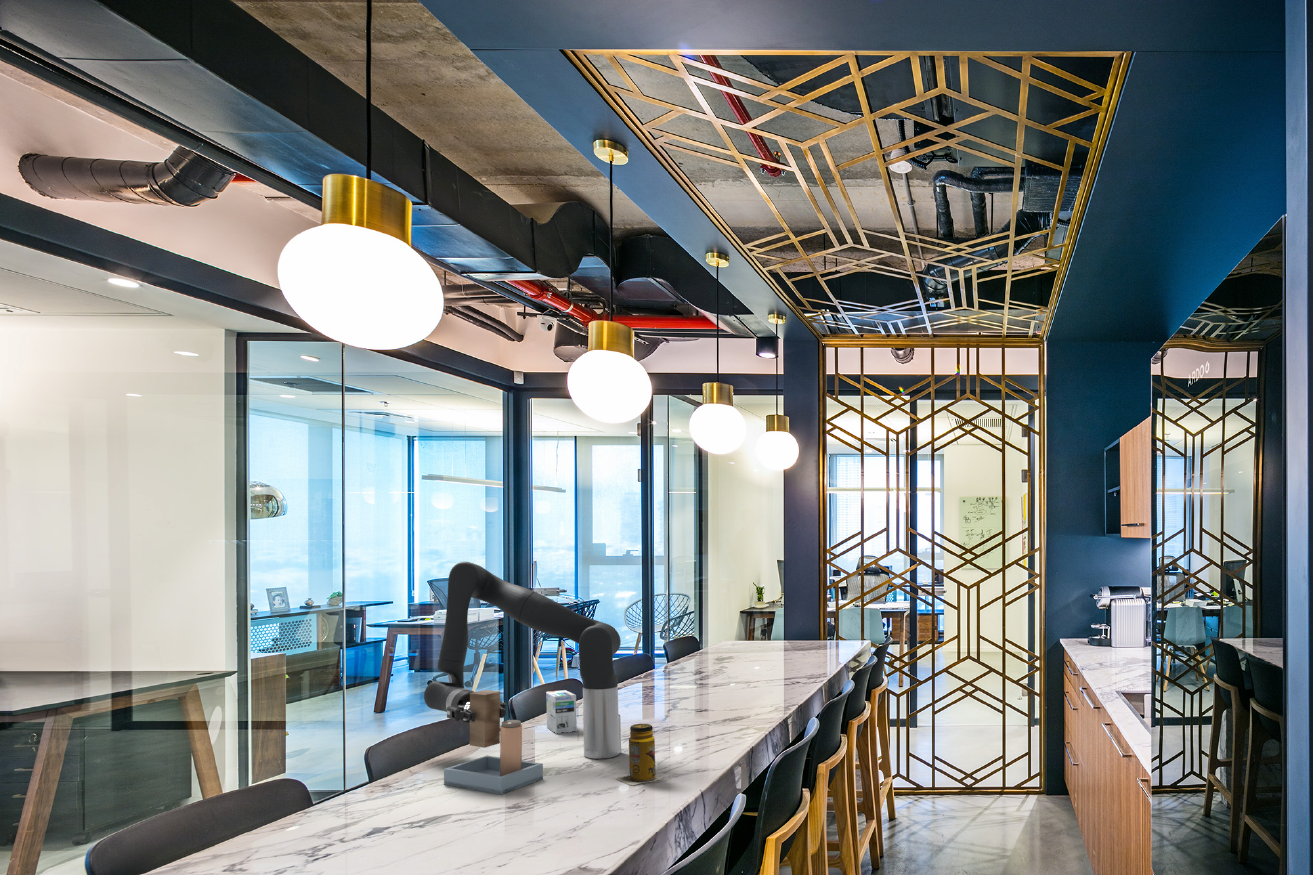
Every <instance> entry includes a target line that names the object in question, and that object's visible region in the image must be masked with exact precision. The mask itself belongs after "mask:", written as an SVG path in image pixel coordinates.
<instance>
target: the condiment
mask: <svg viewBox="0 0 1313 875" xmlns="http://www.w3.org/2000/svg"><path fill="white" fill-rule="evenodd" d="M629 730H630V731H629V737H628V756H629V757H628V760H629V761H628V763H629V764H628V766H629V768H628V769H629V775H625V776H619V777H615V779H616V780H618V781H620V782H622V783H624V784H627V785H629V786H635V785H636V786H637V785H641V784H645V783H646V784H647V783H652V782H657V781H661V780H663V778H662V777H659V776H656V753H655V751H656V750H655V745H656V744H655V737H654V736H653V734H654V732H653V725H652V724H649V723H636V724H634V723H633V724H632V725H630V728H629Z"/></svg>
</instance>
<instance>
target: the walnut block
mask: <svg viewBox="0 0 1313 875" xmlns="http://www.w3.org/2000/svg"><path fill="white" fill-rule="evenodd" d="M500 701H501V691H498V690H489V689H483V690H479V691H474V692H473V693H470V710H471V711H474V712H475V722H471V721H470V723H469V746H472V747H478V748H489V747H492V746H495V745H498V744H499V745H500V726H501V718H500Z"/></svg>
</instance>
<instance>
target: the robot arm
mask: <svg viewBox="0 0 1313 875" xmlns="http://www.w3.org/2000/svg"><path fill="white" fill-rule="evenodd" d="M446 598H447V601H446V613H445V622H444V623H445V624H444V631H443V636H442V642H441V646H440V650H439V656H438V662H437V669H438V671H439V672H441V673H445V674H447V675H449V676H450V678H451V679H450V680H451V682H447V681H438V680H436V681H432V682H429V684H427V686H426V688H425V690H424V693H423V700H424V703H425V705H426V706H427V707H428V708H430V709H432V710H434V711H435V710H436V711H440V712H441V711H442V712H445V713H446V718H447V719H450V720H452V721H456V722H459V721H460V722H463V723H465V724H470V721H471V722H475V712H474V711H471V710H470V693H473V692H475V691H473V690H471V689H469V688H465V680H464V672H465V671H464V669H465V668H464V667H465V662H466V657H467V651H468V646H469V627H468V625H469V624H468V619H469V618H468V615H469V606H470V603H471V599H472V598H473V599H476V600H479V601H482V602H485V603H488V604H490V605H492V606H494V607H497V608H498V609H499V610H501V611H502V612H503V613H504V614H505V615H507V616H509V617H510V618H511V619H513V620H515V621H516V622H517V623H519V624H522V625H524V626H525V627H528V628H530V629H532V630H535V631H538V632H541V633H543V634H548V635H551V636H557V637H562V638H564V639H567V640H570V641H572V642H574V643H576V644H578V663H579V664H578V665H579V675H580V679H581V681H582V682H581V683H582V711H583V712H582V714H583V715H582V716H583V719H582V720H583V721H582V722H583V723H582V724H583V756H584V757H585V758H588V759H609V758H614V757H617V756H619V755H620V753H621V752H622V736H621V735H622V734H621V731H622V730H621V729H622V728H621V715H620V713H619V686H618V684H619V683H618V682H619V679H618V676H617V674H616V673H615V670H614V660H613V659H614V655H615V654H616V653H617V652H618V651H619V649H620V647H621V642H622V640H621V637H620V636H621V635H620V634H619V632H618V630H617V628H616V629H615V627H614V626H612V625H611V624H608V623H605V622H603V621H599V620H596V619H594V618H591V617H588V616H584V615H582V614H580V613H577V612H576V611H573V610H572V609H570V608H569V607H567V606H565V605H564V604H561V603H559V602H558V601H555V600H553V599H551V598H549V597H547V596H545V595H543V594H541V593H539V592H536V591H534V590H532V589H529V588H527V587H523V586H521V585H517V584H513V583H512V582H508V581H506V580H504V579H502V578H500V577H499V576H497V575H495V574H493V573H492V572H491V571H489V570H487V569H486V568H484V567H482V566H481V565H479V564H476V563H474V562H470V561H460V562H458V563H456V564H455V565H454V566H453V567H452V568H451V569H450V572H449V575H448V581H447V596H446ZM506 715H507V703H506V702H504V701H501V700H500V719H504V718H505V716H506Z"/></svg>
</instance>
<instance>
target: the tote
mask: <svg viewBox="0 0 1313 875" xmlns="http://www.w3.org/2000/svg"><path fill="white" fill-rule="evenodd" d="M543 765H544V764H543V763H541V762H535V761H527V760H522V769H521V770H518V771H515V772H512V773H510V774H507V775H504V776H500V756H492V755H484V756H482V757H478V758H475V759H472V760H469V761H465V762H462V763H459V764H458V763H457V764H456V765H453V766H452V765H451V766H449V767H446V768H444V769H443V785H445V786H449V787H450V786H451V787H455V786H456V787H455V788H461V789H466V788H467V789H466V790H471V791H473V790H474V791H477V790H478V791H477V792H483V793H484V792H485V793H489V794H494V795H495V794H496V795H503V794H507V793H510V792H513V791H516V790H518V789H520V788H524V787H526V786H528V784H529V785H531V784H534V783H537V782H539V781H541V780H544V766H543Z"/></svg>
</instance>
